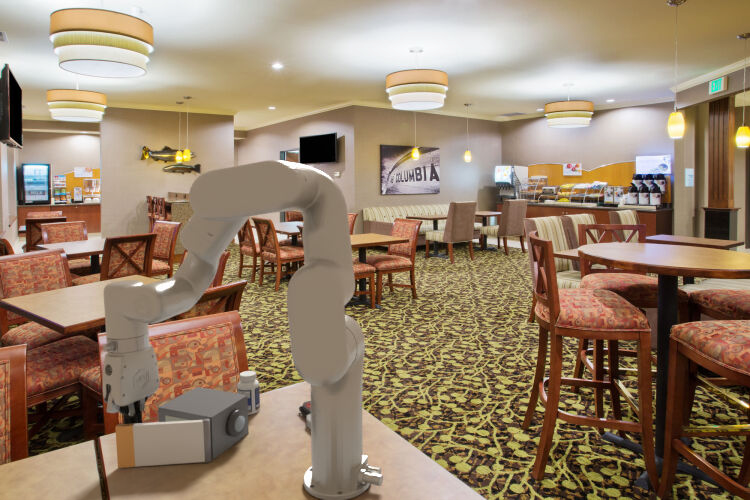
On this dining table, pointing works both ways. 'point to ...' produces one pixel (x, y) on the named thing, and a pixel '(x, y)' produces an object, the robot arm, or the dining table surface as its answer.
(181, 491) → the dining table surface
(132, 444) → the side door
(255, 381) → the pill bottle
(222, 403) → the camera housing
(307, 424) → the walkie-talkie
